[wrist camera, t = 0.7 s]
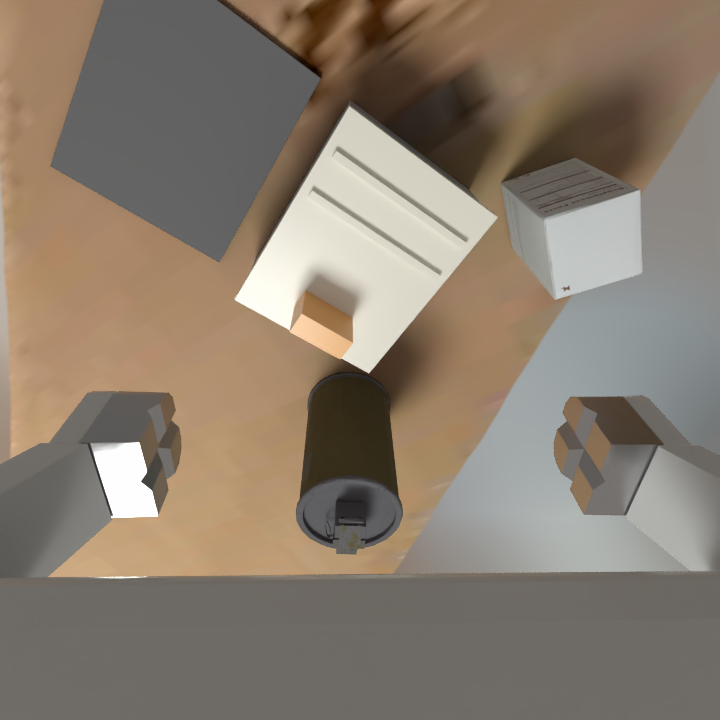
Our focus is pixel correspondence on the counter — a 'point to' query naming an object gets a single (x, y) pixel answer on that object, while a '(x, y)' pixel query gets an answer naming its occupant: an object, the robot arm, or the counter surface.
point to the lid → (363, 244)
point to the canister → (349, 465)
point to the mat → (181, 115)
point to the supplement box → (574, 226)
